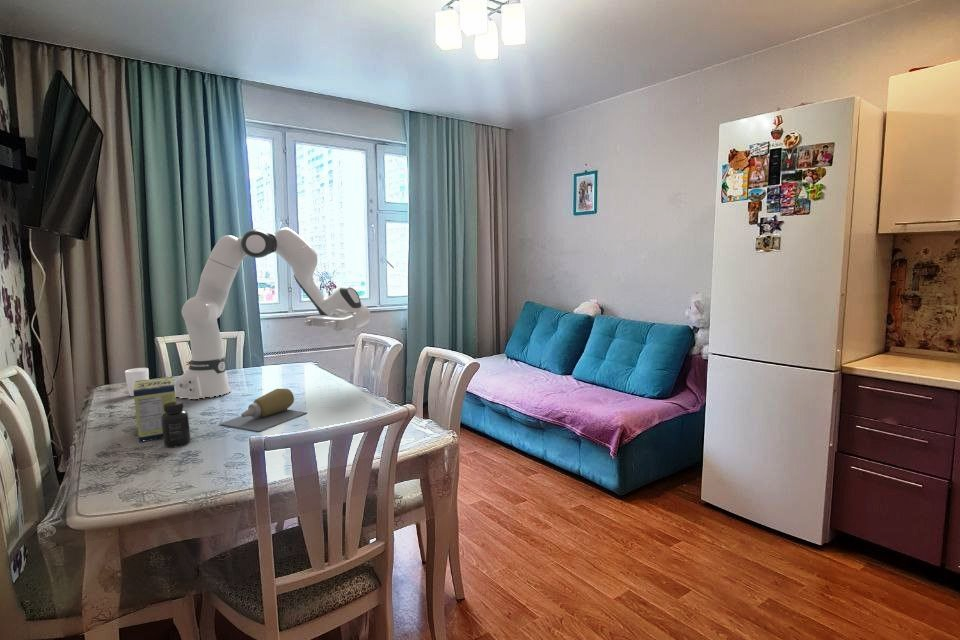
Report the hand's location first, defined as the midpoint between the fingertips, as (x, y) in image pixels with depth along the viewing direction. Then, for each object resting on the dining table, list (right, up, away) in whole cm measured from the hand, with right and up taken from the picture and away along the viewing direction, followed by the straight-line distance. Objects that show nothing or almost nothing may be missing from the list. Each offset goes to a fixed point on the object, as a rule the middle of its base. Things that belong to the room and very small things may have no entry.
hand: (315, 324), depth 198 cm
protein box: (-37, -33, -35) cm, 61 cm away
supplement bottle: (-25, -34, -46) cm, 63 cm away
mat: (-9, -31, -25) cm, 41 cm away
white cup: (-73, -28, +10) cm, 79 cm away
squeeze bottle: (-4, -25, -16) cm, 30 cm away
